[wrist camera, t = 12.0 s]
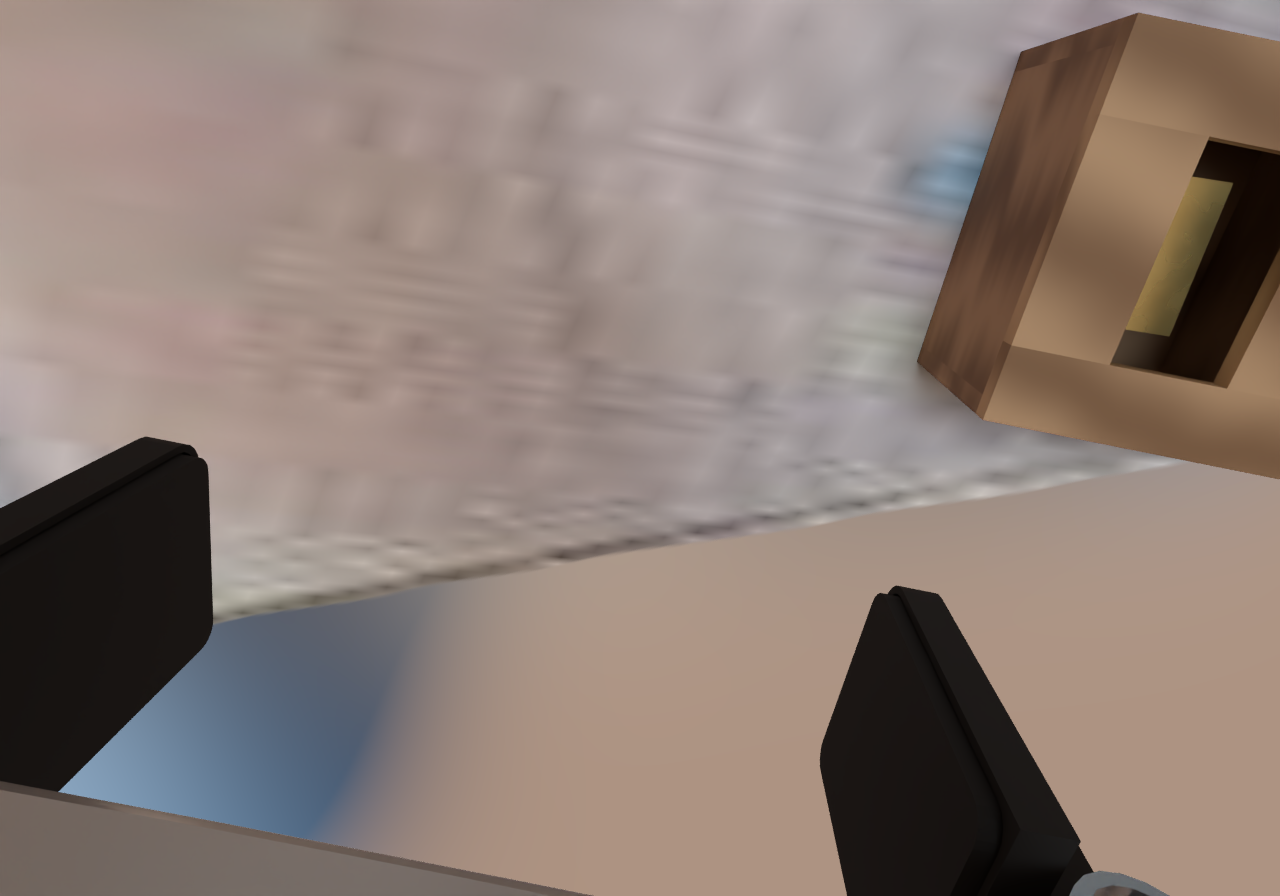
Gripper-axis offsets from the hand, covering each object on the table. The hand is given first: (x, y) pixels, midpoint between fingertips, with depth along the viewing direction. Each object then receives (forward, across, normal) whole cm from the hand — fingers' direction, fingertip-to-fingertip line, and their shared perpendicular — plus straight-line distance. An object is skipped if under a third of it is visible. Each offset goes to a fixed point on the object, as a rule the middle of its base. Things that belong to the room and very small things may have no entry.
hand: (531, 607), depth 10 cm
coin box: (+28, -20, -6) cm, 35 cm away
